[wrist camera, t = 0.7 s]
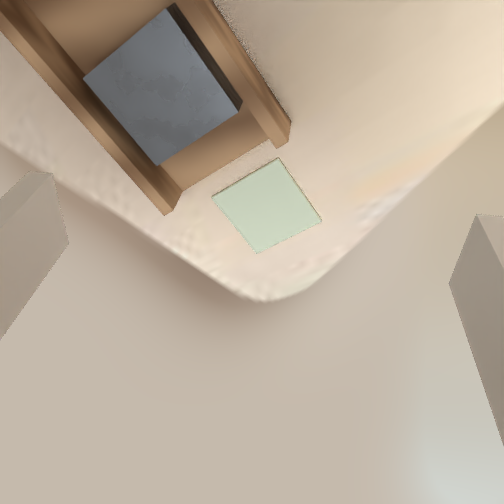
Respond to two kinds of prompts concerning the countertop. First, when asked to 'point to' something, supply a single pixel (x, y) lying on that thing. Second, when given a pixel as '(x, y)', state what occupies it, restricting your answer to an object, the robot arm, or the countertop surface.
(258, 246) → the mat
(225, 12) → the countertop surface
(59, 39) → the box
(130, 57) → the grey square tile
